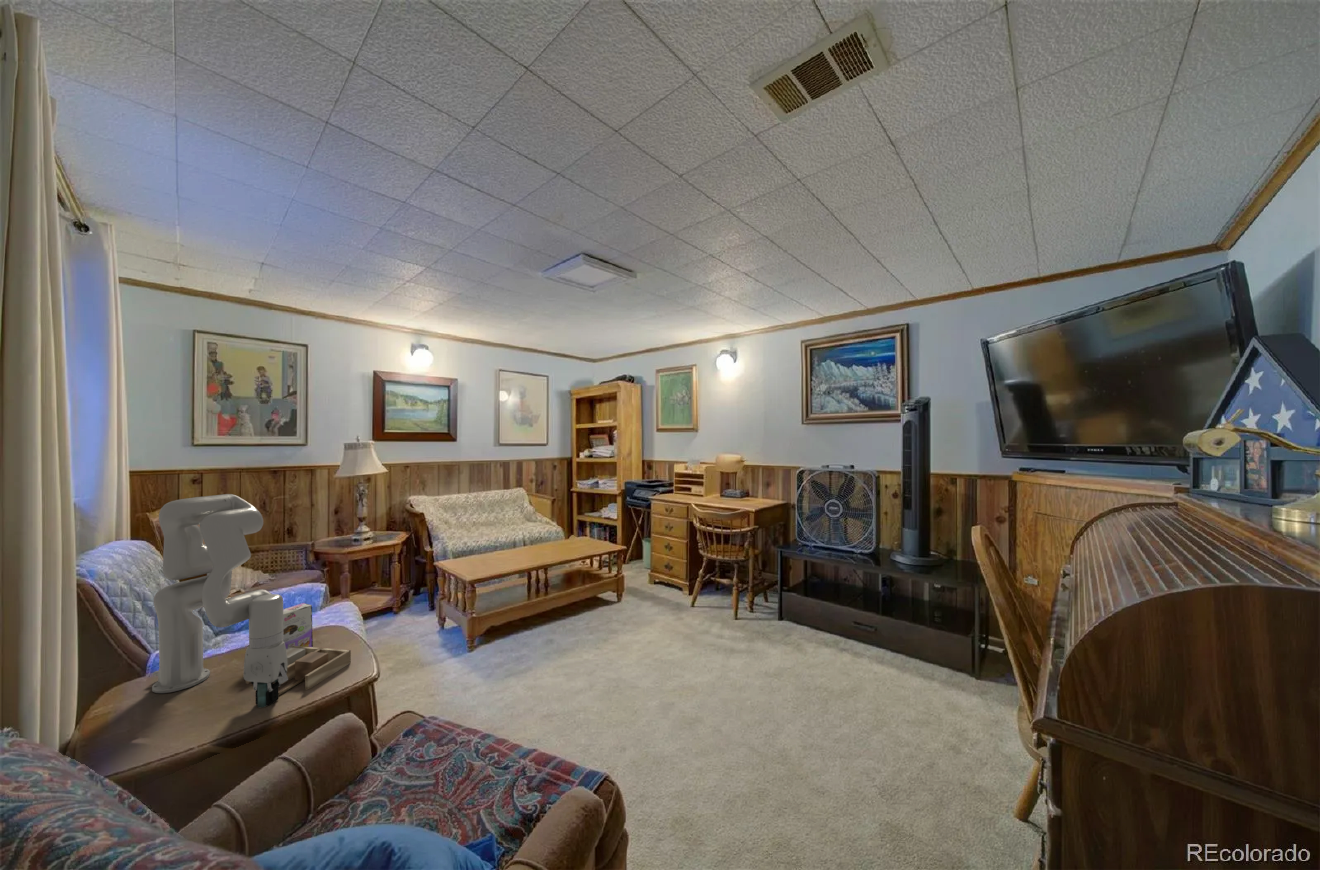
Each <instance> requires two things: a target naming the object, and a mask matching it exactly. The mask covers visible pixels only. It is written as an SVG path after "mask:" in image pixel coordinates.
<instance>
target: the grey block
mask: <svg viewBox="0 0 1320 870" xmlns="http://www.w3.org/2000/svg"><path fill="white" fill-rule="evenodd" d="M286 652H287V663H288V665H290V664H292V663H294V662H295V661H296V660H298V659H300V658H302V657H303V656H305V649H302V648H288V649H286Z"/></svg>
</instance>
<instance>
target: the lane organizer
mask: <svg viewBox="0 0 1320 870" xmlns="http://www.w3.org/2000/svg"><path fill="white" fill-rule="evenodd" d="M290 648H302V649H305V655H307V654H309V653H311V652H320V653H328V662H327V663H325V664H324V665H322V666H320V667H319V668H317V669H315V670H314V671H312V672H310V673H309V674H307V675H305V681H304V685H305V687H304V690H310V689H312V688H313V687H314V686H316V685H319V683H321V682H323V681H324V680H326V679H327V678H329V677H331V676H332V675H334V674H335V673H337V672H339V671H340V670H341V669H343V668H344V667H346V666H348V665H350V664H351V663H352V659H351V657H352V655H351V654H352V653H351V651H352V650H349V649H339V648H327V647H315V646H313V647H304V646H292V647H290ZM286 675H287V677H288V680H287V681H286V682H284V683H282V684H281V685H280V686H282V685H283V684H285V683H287V682H289V681H291V680H292V679H293V678H294V679H295V662H294V663H292V664H290V665H288V668H287V674H286ZM245 684H247V685H249V684H252V683H251V682H250V681H246V680H245Z"/></svg>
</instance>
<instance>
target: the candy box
mask: <svg viewBox="0 0 1320 870" xmlns="http://www.w3.org/2000/svg"><path fill="white" fill-rule="evenodd" d="M283 642H284V643H285V647H286V649H288V648H290V647H292V646H304V647H314V642H313V604H309V603H306V602H301V603H299V604H295V605H293V606H289V607H286V608H283Z"/></svg>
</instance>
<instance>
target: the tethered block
mask: <svg viewBox="0 0 1320 870" xmlns="http://www.w3.org/2000/svg"><path fill="white" fill-rule="evenodd" d="M327 662H328V653H320V652H311V653H309V654H307V655H305V656H303V657H302V658H300V659H298V660H296V661H295V677H294V679H295V680H294V681H295V682H294V683H292V684H290V685H288V686H287V687H285V688H284V689H282V690H280V691H278V697H279V696H280V695H283V694H284V693H286V692H287V691H289V690H291V689H292V688H295V686H296V685H298V684H300V683H302V682H305V675H307V674H309V673H310V672H312V671H314V670H315V669H317V668H319V667H320V666H322V665H324V664H325V663H327ZM257 688H258V705H257V708H259V709H260V708H261V709H262V708H265V707H268V706H267V705H266V692H267V691H268V687H267V683H260V682H259V683H258V684H257Z"/></svg>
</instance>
